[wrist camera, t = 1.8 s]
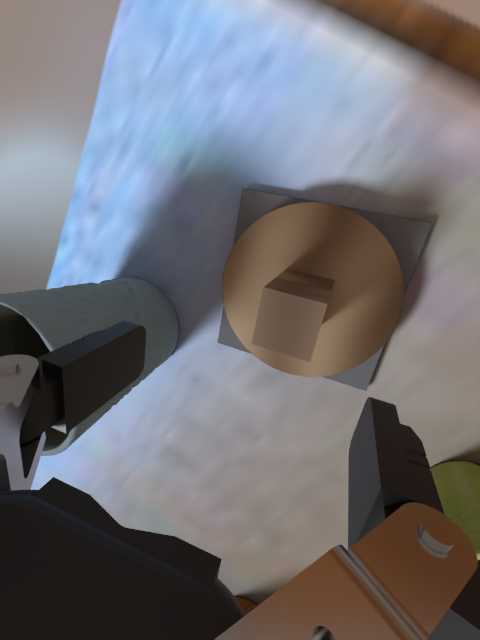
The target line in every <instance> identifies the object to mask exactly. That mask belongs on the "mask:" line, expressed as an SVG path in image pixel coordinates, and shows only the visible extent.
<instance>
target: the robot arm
mask: <svg viewBox="0 0 480 640" xmlns="http://www.w3.org/2000/svg"><path fill="white" fill-rule="evenodd" d="M145 346H146V329H145V327H144V326H141V325H138V324H135V323H132V322H128V321H122V322H120V323H118V324H115V325H113V326H111V327H109V328H107V329H105V330H100V331H96V332H92V333H90V334H88V335H86V336H84V337H82V338H81V339H77V340H75V341H73V342H72V343H71V344H70V343H69V344H66V345H64V346H62V347H60V348H58V349H56V350H53V351H51V352H49V353H47V354H45V355H43V356H40V357H38V358H34V357H32V356H28V355H6V356H1V357H0V640H480V561H478V560H477V555H476V552H475V549H474V547H473V545H472V543H471V542H470V540H469V539H468V537H467V536H466V534H465V533H464V532H463V531H462V530H461V529H460V528H459V527H458V525H457V524H455V523H454V522H453V521H452V520H451V519H450V518H448V517H447V516H446V515H445V514H444V510H443V507H442V504H441V501H440V498H439V495H438V491H437V488H436V485H435V482H434V479H433V476H432V472H431V470H429V469H430V466H429V463H428V460H427V458H426V453H425V450H424V447H423V444H422V441H421V440H420V439H419V437H418V436H417V435H416V434H415V432H414V431H413V430H412V429H411V427H409V426H406V425H402V424H400V423H399V418H398V414H397V410H396V406H395V405H394V404H390V403H387V402H384V401H381V400H378V399H374V398H371V397H369V398H368V399H367V401H366V403H365V405H364V408H363V410H362V413H361V416H360V418H359V421H358V424H357V426H356V429H355V431H354V434H353V437H352V440H351V444H350V449H349V506H348V550H346V549H345V548H344V547H343V545H337V546H335V547H333V548H332V549H330V550H329V551H328V552H326V553H325V554H324V555H323V556H321V557H320V558H319V559H317V560H316V561H315V562H314V563H312V564H311V565H310V566H308V567H307V568H306V569H305V570H303V571H302V572H301V573H299V574H298V575H297V576H296V577H294V578H293V579H292V580H290V581H289V582H288V583H287V584H285V585H284V586H283V587H281V588H280V589H279V590H278V591H276V592H275V593H274V594H272V595H271V596H270V597H269V598H267V599H266V600H265V601H263V602H262V603H261V604H260V605H258V606H257V607H256V608H254V609H253V610H252V611H251V612H249V613H248V614H247V615H246V614H245V612H244V610H243V609H242V607H241V606H240V604H239V603H238V601H237V599H236V598H235V597H234V595H233V594H232V593H231V592H230V591H229V589H228V588H227V587H226V586H225V585H224V584H223V583H222V582H221V581H220V580H219V579H218V578H217V577H218V572H219V568H220V563H221V559H220V558H218V557H216V556H214V555H212V554H210V553H208V552H206V551H204V550H202V549H199V548H197V547H195V546H193V545H191V544H189V543H187V542H185V541H183V540H181V539H179V538H177V537H174V536H169V535H163V534H157V533H152V532H146V531H140V530H135V529H129V528H125V527H123V526H121V525H120V524H118V523H117V522H116V521H115V520H114V519H113V518H112V517H111V516H110V515H109V514H108V513H107V512H106V511H105V510H104V509H103V508H102V507H101V506H100V505H99V504H98V503H97V502H96V501H95V500H94V499H93V498H92V497H91V496H90V495H89V494H87V493H85V492H83V491H81V490H79V489H76V488H74V487H72V486H70V485H68V484H66V483H64V482H62V481H60V480H58V479H56V478H54V477H53V478H52V479H51V480H50V481H49V482H48V483H46V484H45V485H44V486H43V487H42V488H41V489H40V490H30V489H31V485H32V482H33V479H34V475H35V472H36V469H37V466H38V463H39V459H40V456H41V453H42V450H43V446H44V443H45V439H46V435H45V431H46V430H48V429H49V428H50V427H52V428H54V429H57V430H59V431H61V432H63V433H66V434H67V433H68V432H69V431H70V430H72V429H73V428H74V427H76V426H77V425H78V424H79V423H81V422H82V421H83V420H85V419H86V418H87V417H88V416H90V415H91V414H92V413H94V412H95V411H96V410H98V409H99V408H100V407H101V406H103V405H104V404H105V403H107V402H108V401H109V400H110V399H112V398H113V397H114V396H116V395H117V394H118V393H119V392H121V391H122V390H123V389H125V388H126V387H127V386H128V385H130V384H131V383H132V382H134V381H135V380H136V379H137V378H138V377H139V376H140V374H141V373H142V371H143V368H144V364H145Z"/></svg>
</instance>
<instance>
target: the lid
mask: <svg viewBox="0 0 480 640" xmlns="http://www.w3.org/2000/svg"><path fill="white" fill-rule="evenodd" d="M403 287H404V285H403V278H402V272H401V268H400V265H399V262H398V259H397V257H396V255H395V253H394V250H393V248H392V247H391V245H390V244H389V242H388V241H387V239H386V238H385V237H384V236H383V234H382V233H381V232H380V231H379V230H378V229H377V228H376V227H375V226H374V225H372V224H371V223H370V222H369V221H368V220H366V219H365V218H363V217H361V216H360V215H358V214H356V213H355V212H353V211H350V210H348V209H345V208H343V207H340V206H336V205H332V204H327V203H318V202H308V203H298V204H292V205H288V206H285V207H281V208H278V209H276V210H274V211H272V212H270V213H268V214H266V215H264V216H263V217H261V218H260V219H258V220H257V221H256V222H254V223H253V224H252V225H251V226H250V227H248V229H247V230H246V231H245V232H244V233H243V234H242V235H241V236H240V238H239V239H238V241H237V242H236V243H235V245H234V247H233V249H232V251H231V253H230V255H229V257H228V260H227V263H226V266H225V270H224V274H223V284H222V293H223V302H224V308H225V311H226V315H227V318H228V320H229V323H230V325H231V327H232V329H233V331H234V332H235V334H236V336H237V337H238V338H239V340H240V341H241V343H242V344H243V345H244V346H245V347H246V348H247V349H248V350H249V351H250V352H251V353H252V354H253V355H254V356H256V357H257V358H258V359H260V360H261V361H263V362H264V363H266V364H267V365H269V366H271V367H273V368H275V369H278V370H280V371H283V372H286V373H289V374H293V375H299V376H306V377H321V376H329V375H334V374H339V373H342V372H345V371H348V370H350V369H352V368H354V367H356V366H359V365H360V364H362V363H363V362H365V361H366V360H368V359H369V358H371V357H372V356H373V355H374V354H375V353H376V352H378V351H379V349H380V348H381V347H382V346H383V345H384V344H385V343H386V341H387V340H388V338H389V337H390V335H391V334H392V332H393V330H394V328H395V326H396V324H397V322H398V319H399V316H400V313H401V309H402V303H403Z"/></svg>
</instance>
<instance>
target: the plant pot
mask: <svg viewBox="0 0 480 640" xmlns="http://www.w3.org/2000/svg"><path fill="white" fill-rule="evenodd" d="M429 470H431V472H432V476H433V479H434V482H435V485H436V488H437V491H438V495H439V498H440V501H441V504H442V507H443V510H444V514H445V515H446V516H447V517H448V518H450V519H451V520H452V521H453V522H454V523H455V524H457V525H458V527H459V528H460V529H461V530H462V531H463V532H464V533H465V534H466V536H467V537H468V539H469V540H470V542H471V543H472V545H473V547H474V549H475V552H476V555H477V560H478V561H480V466H479V465H476V464H474V463H471V462H467V461H451V462H446V463H442V464H439V465H436V466H434V467H432V468H431V469H429Z"/></svg>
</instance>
